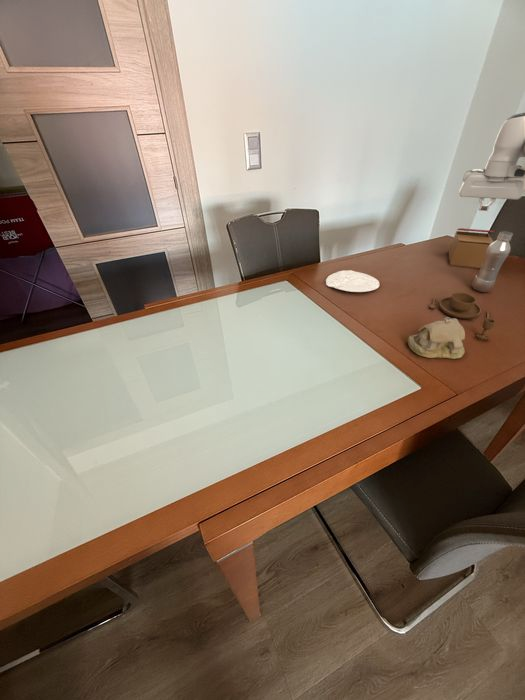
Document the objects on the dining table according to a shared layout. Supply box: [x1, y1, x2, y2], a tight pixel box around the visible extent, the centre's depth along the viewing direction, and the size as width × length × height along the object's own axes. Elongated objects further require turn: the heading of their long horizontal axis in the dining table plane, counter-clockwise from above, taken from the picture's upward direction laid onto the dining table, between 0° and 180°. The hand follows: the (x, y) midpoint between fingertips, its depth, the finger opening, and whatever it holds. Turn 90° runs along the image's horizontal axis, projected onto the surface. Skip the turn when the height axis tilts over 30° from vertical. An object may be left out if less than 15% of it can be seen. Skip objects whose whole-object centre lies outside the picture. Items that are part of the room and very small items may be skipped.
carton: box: [448, 230, 494, 269], centre depth 125 cm, size 14×12×10 cm
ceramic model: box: [407, 316, 466, 359], centre depth 82 cm, size 14×11×10 cm
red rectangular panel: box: [456, 227, 494, 234], centre depth 124 cm, size 7×12×1 cm, turn 67°
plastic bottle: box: [471, 230, 514, 293], centre depth 102 cm, size 6×7×20 cm
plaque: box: [325, 269, 380, 293], centre depth 116 cm, size 20×20×2 cm
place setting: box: [428, 292, 496, 341], centre depth 94 cm, size 18×20×6 cm
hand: (482, 210), depth 118 cm, fingers closed
